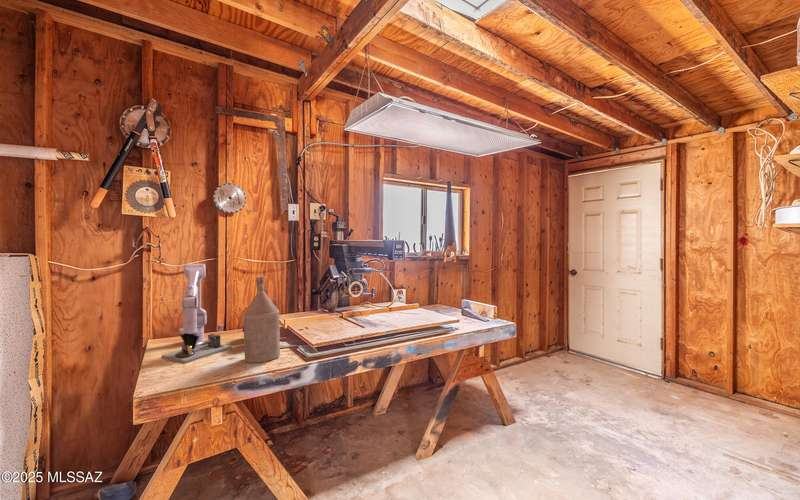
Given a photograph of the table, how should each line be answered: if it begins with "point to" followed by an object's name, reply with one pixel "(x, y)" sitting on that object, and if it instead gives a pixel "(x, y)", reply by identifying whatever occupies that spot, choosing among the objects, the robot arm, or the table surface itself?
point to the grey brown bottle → (261, 327)
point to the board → (196, 353)
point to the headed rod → (185, 348)
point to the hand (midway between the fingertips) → (190, 348)
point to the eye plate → (214, 341)
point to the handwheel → (185, 353)
